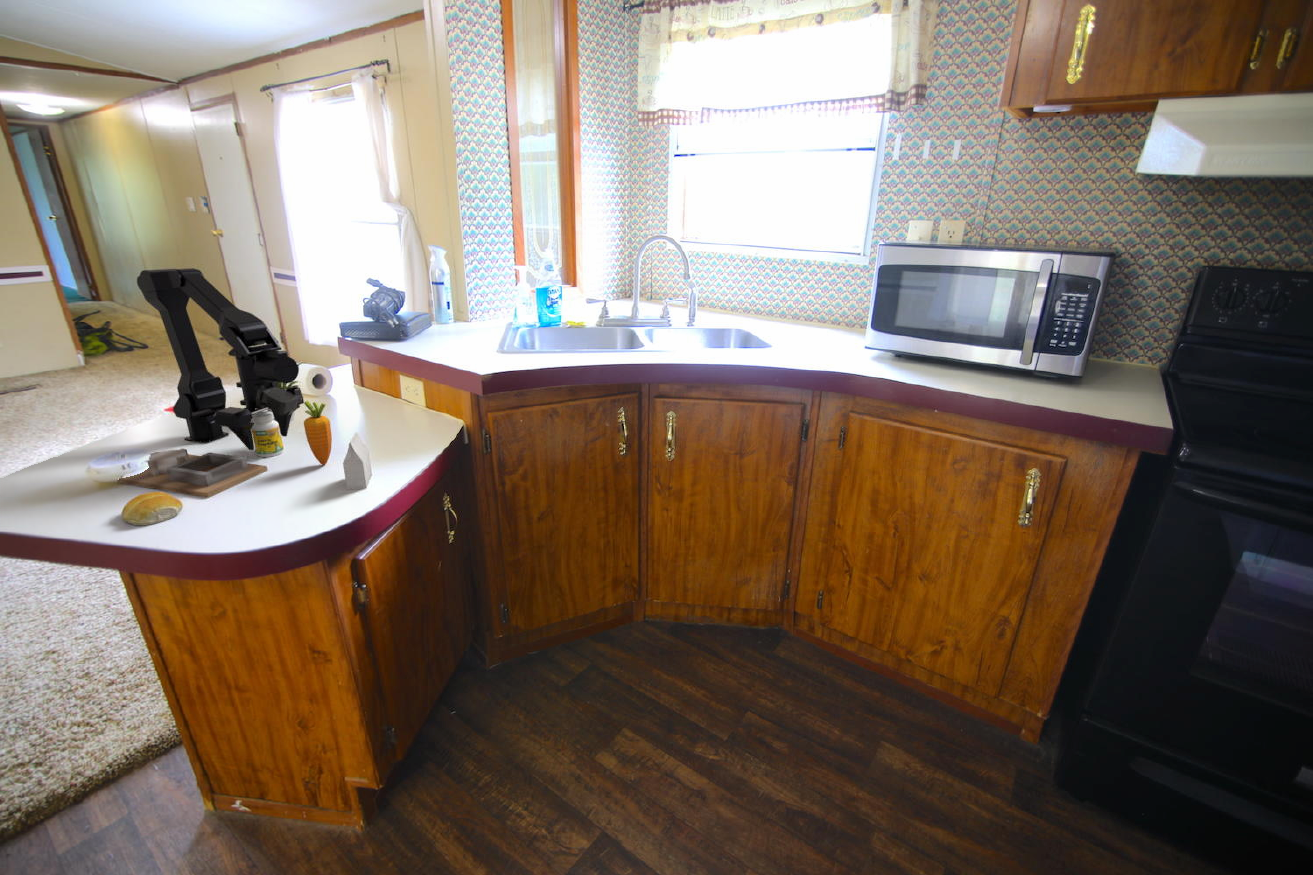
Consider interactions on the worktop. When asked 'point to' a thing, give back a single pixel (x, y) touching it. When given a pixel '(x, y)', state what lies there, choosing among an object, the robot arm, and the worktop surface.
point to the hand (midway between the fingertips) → (268, 442)
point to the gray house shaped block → (357, 464)
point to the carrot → (318, 432)
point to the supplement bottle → (266, 435)
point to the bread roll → (151, 508)
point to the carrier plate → (194, 472)
